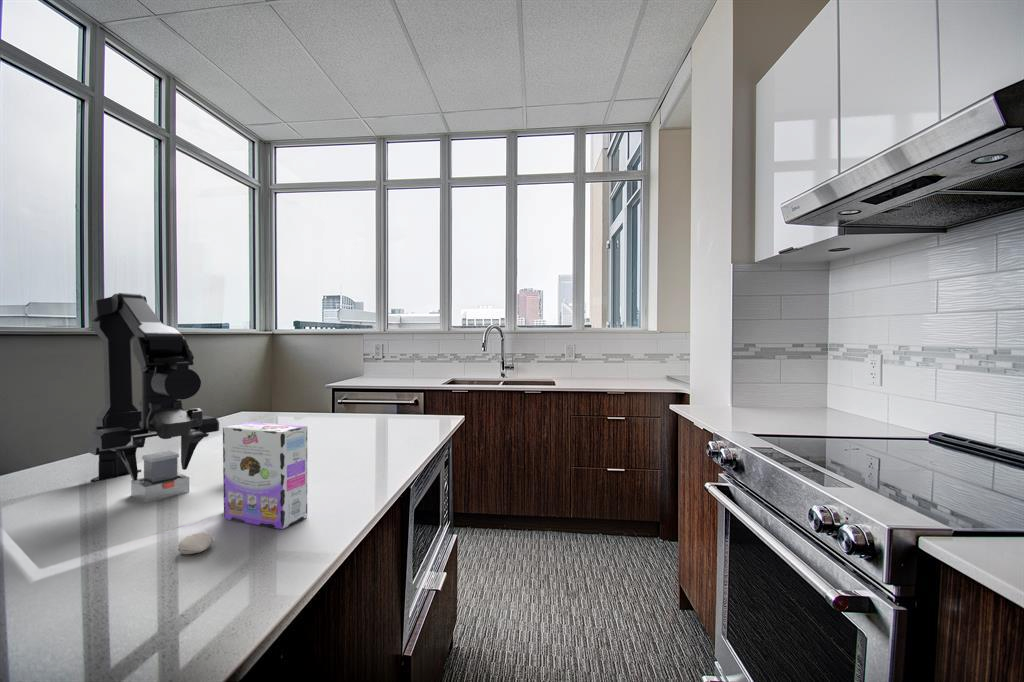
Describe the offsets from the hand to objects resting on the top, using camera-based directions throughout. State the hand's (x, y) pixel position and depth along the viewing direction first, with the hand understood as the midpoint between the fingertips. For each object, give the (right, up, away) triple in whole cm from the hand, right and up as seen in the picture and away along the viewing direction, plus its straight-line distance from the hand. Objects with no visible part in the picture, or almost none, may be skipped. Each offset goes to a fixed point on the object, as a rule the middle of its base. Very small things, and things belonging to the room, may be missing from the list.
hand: (160, 474), depth 85 cm
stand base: (0, -5, 0) cm, 5 cm away
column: (0, -4, 0) cm, 4 cm away
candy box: (+26, -5, -9) cm, 27 cm away
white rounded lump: (+22, -6, -21) cm, 31 cm away
